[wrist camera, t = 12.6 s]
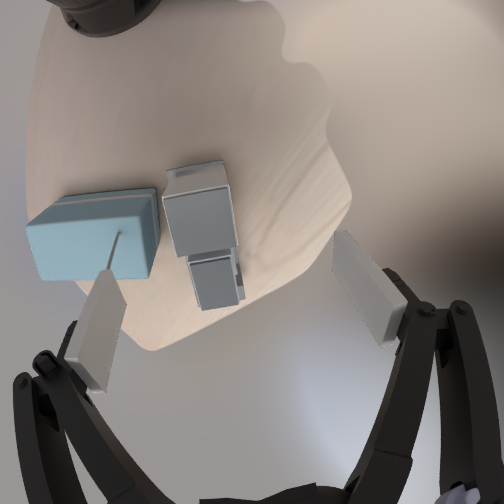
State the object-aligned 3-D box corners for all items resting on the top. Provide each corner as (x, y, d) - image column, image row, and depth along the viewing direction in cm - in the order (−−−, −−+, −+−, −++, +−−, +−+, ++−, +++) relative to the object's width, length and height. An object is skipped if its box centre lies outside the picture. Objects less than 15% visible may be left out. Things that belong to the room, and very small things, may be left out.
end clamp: (195, 271, 45) (194, 293, 40) (238, 263, 45) (243, 285, 40) (198, 283, 46) (198, 307, 41) (240, 276, 47) (245, 299, 41)
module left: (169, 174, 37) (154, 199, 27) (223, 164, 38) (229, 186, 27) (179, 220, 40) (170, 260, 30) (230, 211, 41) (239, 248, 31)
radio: (73, 247, 40) (18, 328, 23) (62, 195, 36) (-12, 259, 18) (162, 242, 42) (139, 335, 25) (157, 185, 38) (119, 253, 21)
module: (188, 233, 38) (185, 265, 31) (226, 226, 39) (231, 256, 31) (199, 275, 42) (198, 312, 34) (233, 269, 42) (240, 305, 35)
